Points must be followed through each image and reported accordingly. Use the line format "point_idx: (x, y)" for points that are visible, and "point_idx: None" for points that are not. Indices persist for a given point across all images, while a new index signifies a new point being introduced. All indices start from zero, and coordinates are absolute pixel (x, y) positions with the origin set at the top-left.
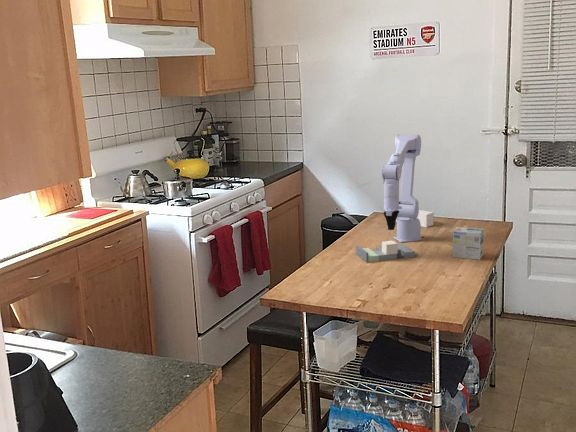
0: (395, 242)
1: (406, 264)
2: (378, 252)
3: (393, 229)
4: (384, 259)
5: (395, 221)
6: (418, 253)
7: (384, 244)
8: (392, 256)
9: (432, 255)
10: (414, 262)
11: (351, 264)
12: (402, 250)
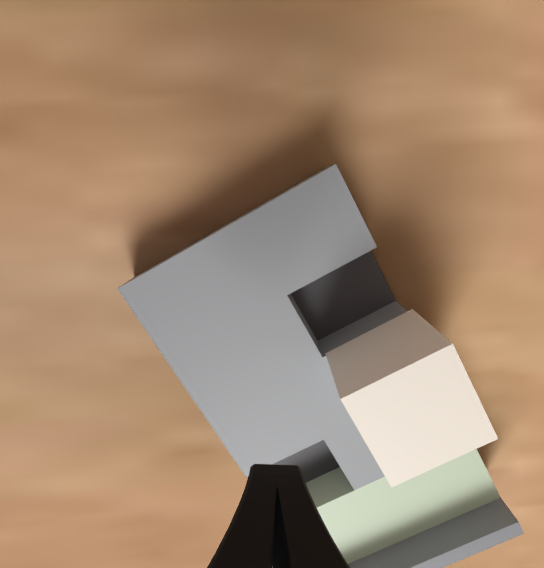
0: (414, 366)
1: (526, 218)
2: None
3: (300, 473)
4: None
5: (301, 563)
6: (227, 140)
7: (445, 453)
8: None
9: (267, 6)
10: (476, 159)
11: (521, 548)
12: (319, 275)
